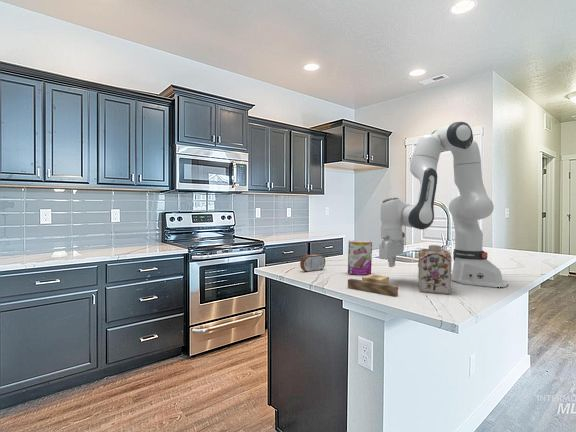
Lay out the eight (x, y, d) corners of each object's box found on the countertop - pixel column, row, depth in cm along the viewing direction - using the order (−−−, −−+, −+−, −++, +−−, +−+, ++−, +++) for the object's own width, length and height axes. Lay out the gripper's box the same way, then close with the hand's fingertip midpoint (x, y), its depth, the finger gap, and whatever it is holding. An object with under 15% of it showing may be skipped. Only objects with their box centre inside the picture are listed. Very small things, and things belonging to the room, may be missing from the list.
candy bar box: (348, 275, 164) (348, 241, 164) (347, 272, 169) (348, 240, 169) (371, 275, 163) (372, 241, 163) (370, 273, 168) (370, 240, 168)
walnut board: (397, 295, 128) (398, 286, 128) (395, 296, 126) (395, 287, 126) (350, 286, 141) (350, 278, 141) (347, 287, 139) (347, 279, 139)
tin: (322, 268, 179) (322, 253, 179) (326, 269, 177) (326, 253, 177) (299, 271, 171) (299, 255, 171) (303, 273, 168) (303, 256, 168)
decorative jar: (448, 288, 140) (449, 244, 140) (451, 295, 129) (452, 248, 129) (417, 285, 144) (418, 243, 144) (418, 292, 134) (419, 246, 133)
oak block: (388, 289, 139) (389, 276, 139) (380, 292, 132) (380, 280, 132) (370, 285, 144) (370, 274, 144) (361, 289, 138) (362, 277, 137)
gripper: (389, 237, 138) (390, 271, 138) (406, 233, 154) (406, 263, 154) (374, 237, 141) (375, 270, 142) (392, 232, 158) (393, 262, 158)
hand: (392, 266), depth 148 cm, fingers closed
